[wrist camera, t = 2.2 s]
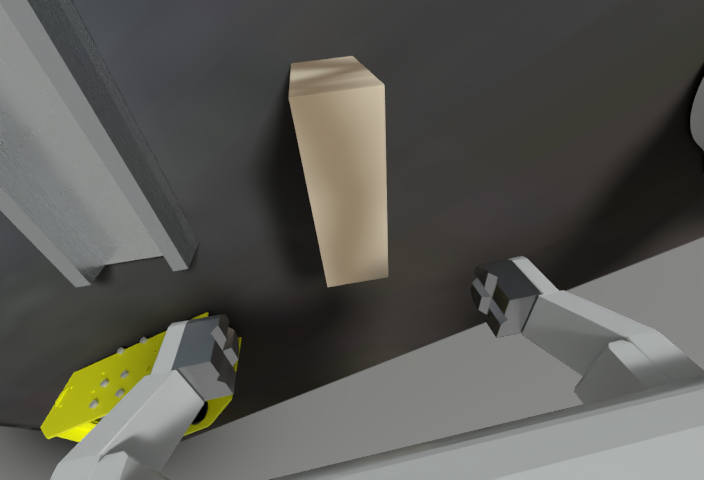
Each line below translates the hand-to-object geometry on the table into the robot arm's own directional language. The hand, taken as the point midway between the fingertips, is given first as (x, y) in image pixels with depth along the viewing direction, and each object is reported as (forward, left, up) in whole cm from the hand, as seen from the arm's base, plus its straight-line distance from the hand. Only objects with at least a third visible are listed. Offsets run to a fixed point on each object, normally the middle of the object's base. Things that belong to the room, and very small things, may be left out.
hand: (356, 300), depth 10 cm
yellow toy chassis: (+19, +18, -14) cm, 30 cm away
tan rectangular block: (-1, 0, -13) cm, 13 cm away
